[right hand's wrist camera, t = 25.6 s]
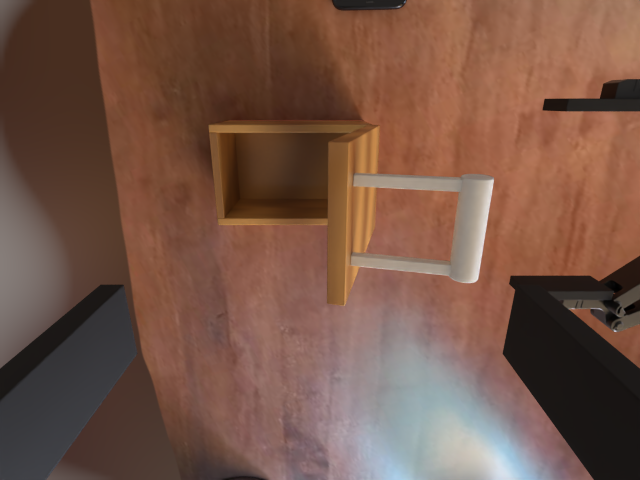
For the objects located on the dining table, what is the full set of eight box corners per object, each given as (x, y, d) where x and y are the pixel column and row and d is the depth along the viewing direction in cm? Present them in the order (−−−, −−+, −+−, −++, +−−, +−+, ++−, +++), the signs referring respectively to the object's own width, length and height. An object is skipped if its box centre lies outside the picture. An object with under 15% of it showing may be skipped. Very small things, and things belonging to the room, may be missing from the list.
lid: (326, 303, 24) (477, 323, 22) (328, 141, 20) (507, 146, 18) (363, 226, 39) (455, 233, 37) (367, 124, 35) (469, 126, 33)
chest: (235, 203, 47) (217, 225, 39) (229, 120, 44) (207, 124, 36) (359, 203, 47) (368, 225, 39) (362, 120, 44) (373, 124, 36)
